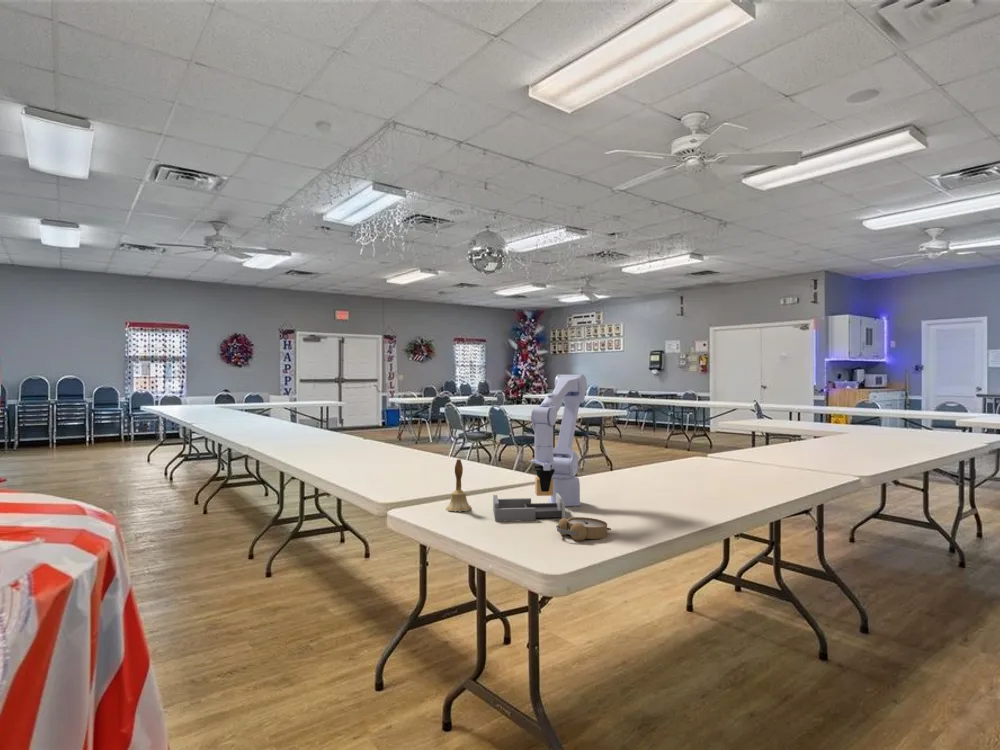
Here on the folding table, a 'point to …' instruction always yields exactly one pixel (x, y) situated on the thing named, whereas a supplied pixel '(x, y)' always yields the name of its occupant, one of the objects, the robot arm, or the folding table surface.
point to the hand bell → (458, 492)
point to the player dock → (512, 509)
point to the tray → (548, 508)
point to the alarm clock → (583, 528)
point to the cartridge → (539, 491)
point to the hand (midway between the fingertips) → (544, 489)
